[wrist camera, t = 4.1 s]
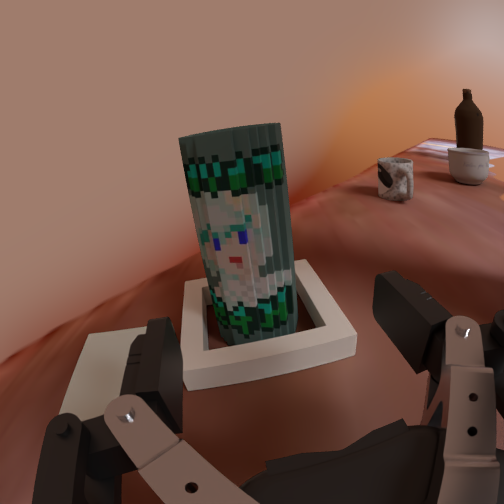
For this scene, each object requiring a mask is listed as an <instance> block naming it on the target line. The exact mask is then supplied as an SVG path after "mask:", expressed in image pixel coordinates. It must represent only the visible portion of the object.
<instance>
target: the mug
mask: <svg viewBox="0 0 504 504" xmlns="http://www.w3.org/2000/svg"><path fill="white" fill-rule="evenodd" d="M378 196H379V197H381V198H383V199H387V200H393V201H405V200H410V199H412V197H413V161H412V160H409V159H404V158H380V159H378Z"/></svg>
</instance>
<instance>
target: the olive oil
mask: <svg viewBox="0 0 504 504" xmlns="http://www.w3.org/2000/svg"><path fill="white" fill-rule="evenodd" d="M454 116H455V117H454V118H455V127H456V142H457V148H469V149H477V150H482V149H483V116H482V113H481V111H480V110H479V109H478V108H477V106H476V105H475V104H474V103H473V101H472V94H471V90H469V89H463V101H462V102H461V103H460V104H459V106H458V107H457V108H456V110H455V115H454Z"/></svg>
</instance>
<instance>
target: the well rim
mask: <svg viewBox="0 0 504 504" xmlns="http://www.w3.org/2000/svg"><path fill="white" fill-rule="evenodd" d="M294 265H295V278H296V290H297V292H298V294H299V296H300V298H301V300H302V302H303V304H304V305H305V307H306V309H307V311H308V313H309V315H310V317H311V319H312V321H313V322H314V324H315V326H316V328H315V329H311V330H306V331H302V332H298V333H294V334H289V335H285V336H280V337H275V338H271V339H266V340H261V341H256V342H251V343H246V344H241V345H235V346H230V347H224V348H218V349H212V350H209V349H208V330H207V308H206V305H212V304H213V302H212V298H211V294H210V290H209V286H208V282H207V278H202V279H196V280H191V281H185V288H184V301H183V314H182V328H181V345H180V348H181V351H182V356H183V381H184V384H185V386H186V388H187V390H188V391H192V390H199V389H206V388H213V387H219V386H225V385H231V384H237V383H242V382H248V381H253V380H258V379H263V378H268V377H273V376H277V375H282V374H286V373H290V372H295V371H299V370H303V369H307V368H311V367H315V366H318V365H322V364H326V363H330V362H333V361H337V360H340V359H344V358H347V357H350V356H354V355H355V351H356V342H357V333H356V331H355V330H354V328H353V327H352V325H351V324H350V322H349V321H348V319H347V318H346V316H345V315H344V313H343V312H342V310H341V309H340V308H339V306H338V305H337V303H336V302H335V300H334V299H333V297H332V296H331V294H330V293H329V292H328V290H327V289H326V287H325V286H324V284H323V283H322V282H321V280H320V279H319V277H318V276H317V274H316V273H315V272H314V270H313V269H312V267H311V266H310V264H309V263H308V262H307V260H306V259H302V260H297V261H294Z"/></svg>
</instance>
